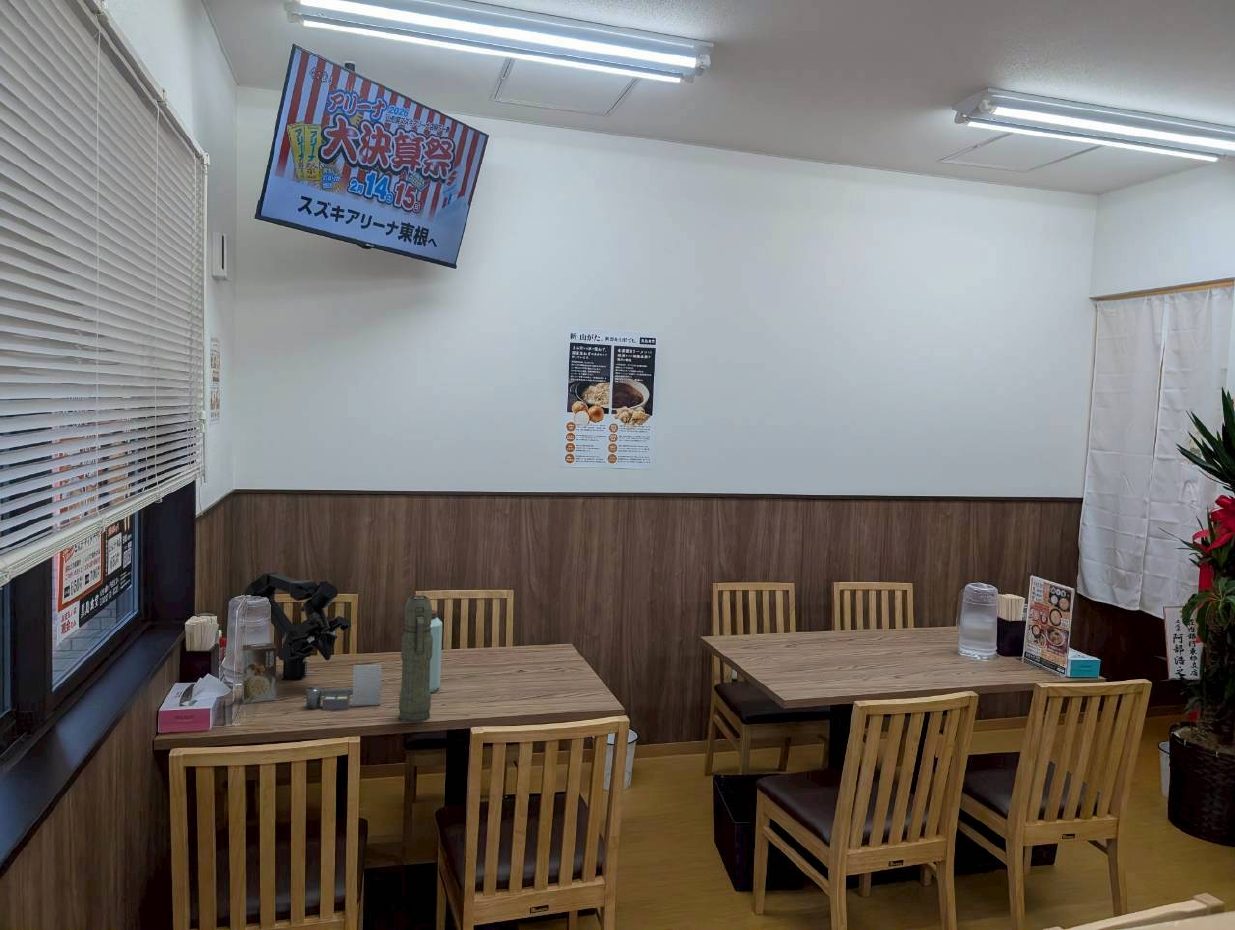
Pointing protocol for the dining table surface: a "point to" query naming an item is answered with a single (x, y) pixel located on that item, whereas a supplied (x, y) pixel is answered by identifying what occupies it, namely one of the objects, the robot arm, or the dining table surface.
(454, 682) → the dining table surface
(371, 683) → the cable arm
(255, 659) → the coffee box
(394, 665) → the dining table surface
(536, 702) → the dining table surface
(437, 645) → the water bottle
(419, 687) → the thermos
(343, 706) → the block
